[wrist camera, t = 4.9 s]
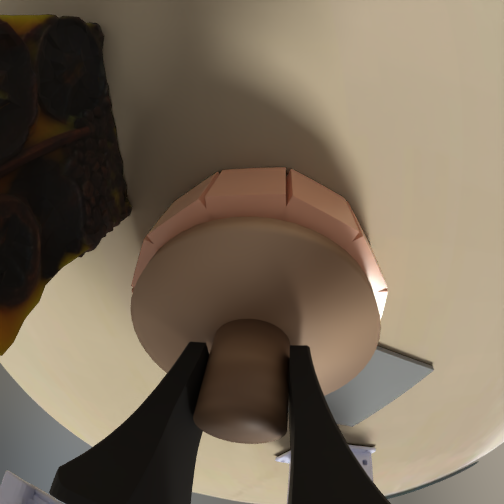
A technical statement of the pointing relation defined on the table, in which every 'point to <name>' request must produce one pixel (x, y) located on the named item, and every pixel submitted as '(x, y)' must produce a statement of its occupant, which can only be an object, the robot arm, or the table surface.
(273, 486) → the table surface
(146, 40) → the table surface
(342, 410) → the mat
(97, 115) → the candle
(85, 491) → the robot arm
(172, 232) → the bowl
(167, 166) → the table surface
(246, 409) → the lid
